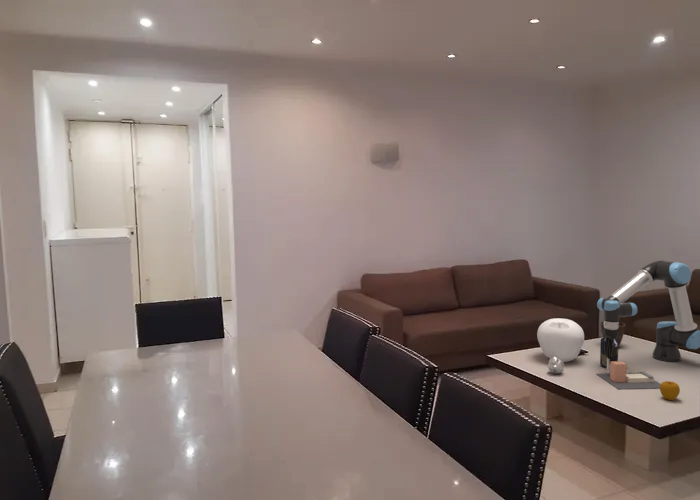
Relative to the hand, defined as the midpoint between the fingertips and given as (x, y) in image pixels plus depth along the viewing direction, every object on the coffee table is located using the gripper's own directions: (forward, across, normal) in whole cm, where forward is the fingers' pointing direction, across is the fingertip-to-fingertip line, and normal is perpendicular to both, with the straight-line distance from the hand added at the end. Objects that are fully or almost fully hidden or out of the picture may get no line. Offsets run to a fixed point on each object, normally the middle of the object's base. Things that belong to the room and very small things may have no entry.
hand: (609, 369), depth 293 cm
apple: (+4, +34, +12) cm, 37 cm away
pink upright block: (+4, +8, 0) cm, 9 cm away
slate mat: (+4, +8, +7) cm, 12 cm away
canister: (+4, -17, +8) cm, 19 cm away
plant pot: (+4, -57, +31) cm, 65 cm away
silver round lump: (+4, -6, -28) cm, 29 cm away
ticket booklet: (+4, +8, +11) cm, 15 cm away
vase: (+4, -32, -15) cm, 35 cm away
